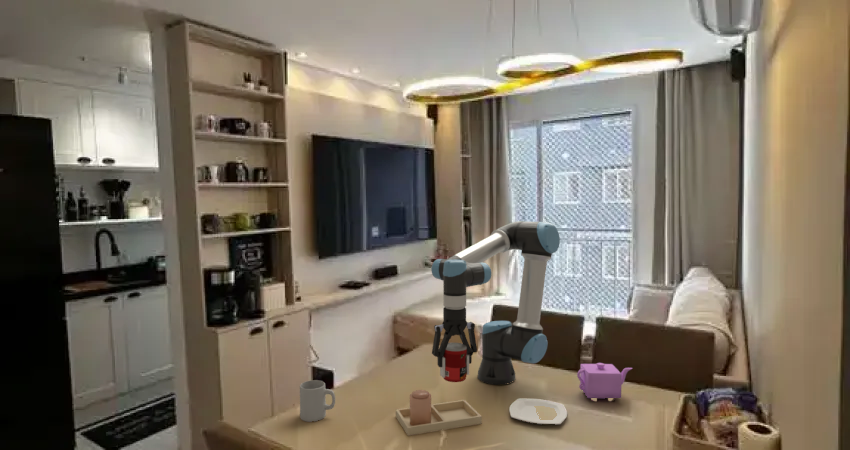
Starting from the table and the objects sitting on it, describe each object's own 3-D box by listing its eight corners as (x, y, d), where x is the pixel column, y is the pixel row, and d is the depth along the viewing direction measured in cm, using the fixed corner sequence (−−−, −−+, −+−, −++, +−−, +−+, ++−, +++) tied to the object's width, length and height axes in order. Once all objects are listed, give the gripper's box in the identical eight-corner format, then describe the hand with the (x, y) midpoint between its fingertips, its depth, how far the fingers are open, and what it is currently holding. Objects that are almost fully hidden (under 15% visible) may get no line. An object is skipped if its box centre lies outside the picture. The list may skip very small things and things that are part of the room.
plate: (568, 408, 177) (569, 402, 177) (565, 432, 159) (565, 426, 159) (514, 400, 183) (514, 395, 183) (504, 423, 165) (504, 417, 165)
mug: (296, 421, 166) (295, 389, 166) (304, 410, 175) (304, 379, 174) (332, 422, 166) (331, 390, 165) (338, 411, 174) (338, 380, 173)
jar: (427, 416, 168) (427, 388, 168) (434, 425, 162) (434, 395, 161) (407, 419, 166) (407, 390, 166) (413, 429, 160) (413, 398, 159)
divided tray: (464, 407, 177) (464, 399, 176) (481, 425, 163) (481, 416, 163) (395, 418, 169) (395, 409, 168) (407, 437, 155) (407, 428, 155)
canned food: (465, 383, 163) (465, 350, 162) (440, 381, 164) (440, 348, 164) (467, 375, 170) (468, 343, 169) (444, 373, 172) (444, 341, 171)
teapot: (580, 402, 181) (581, 368, 180) (573, 391, 191) (573, 358, 190) (637, 403, 180) (637, 368, 180) (626, 392, 190) (627, 359, 190)
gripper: (478, 302, 172) (478, 367, 174) (421, 306, 166) (421, 374, 167) (488, 307, 165) (487, 375, 167) (428, 311, 159) (428, 382, 160)
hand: (454, 374), depth 167 cm, fingers closed on canned food, 8 cm apart
